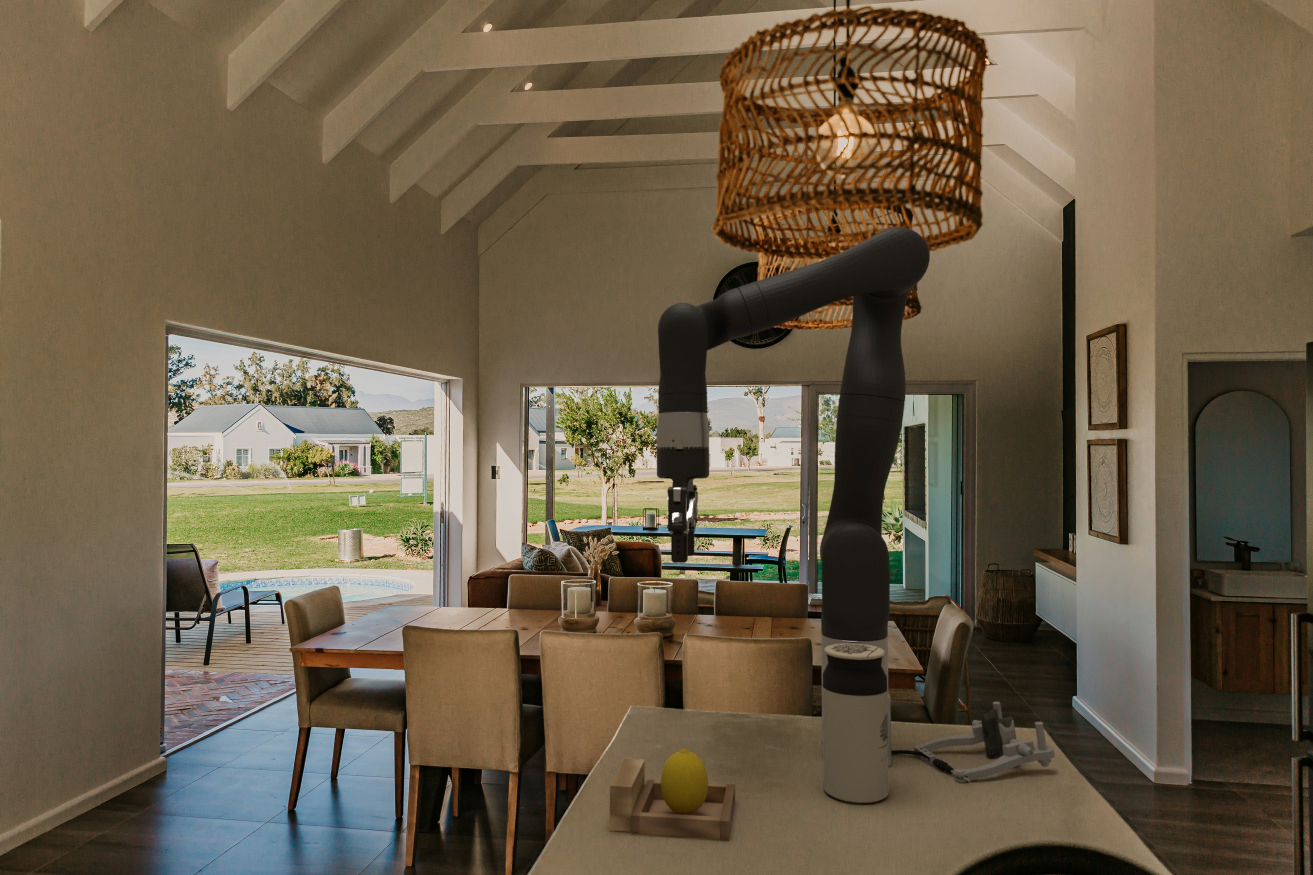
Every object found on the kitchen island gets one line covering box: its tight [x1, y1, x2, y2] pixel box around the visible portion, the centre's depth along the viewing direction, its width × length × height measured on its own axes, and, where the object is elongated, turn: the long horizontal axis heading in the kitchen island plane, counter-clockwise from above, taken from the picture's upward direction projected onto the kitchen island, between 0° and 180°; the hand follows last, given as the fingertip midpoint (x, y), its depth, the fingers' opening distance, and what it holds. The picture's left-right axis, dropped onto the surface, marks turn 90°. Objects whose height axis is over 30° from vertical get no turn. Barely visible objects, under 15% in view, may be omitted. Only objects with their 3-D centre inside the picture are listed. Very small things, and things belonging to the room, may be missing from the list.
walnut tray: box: [630, 779, 736, 842], centre depth 99 cm, size 11×11×3 cm
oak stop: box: [609, 758, 646, 833], centre depth 99 cm, size 2×9×5 cm, turn 171°
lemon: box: [660, 747, 709, 815], centre depth 98 cm, size 6×6×8 cm
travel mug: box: [822, 643, 889, 804], centre depth 106 cm, size 8×8×18 cm
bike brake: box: [891, 701, 1056, 784], centre depth 116 cm, size 14×7×20 cm
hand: (683, 558), depth 119 cm, fingers open, 8 cm apart
